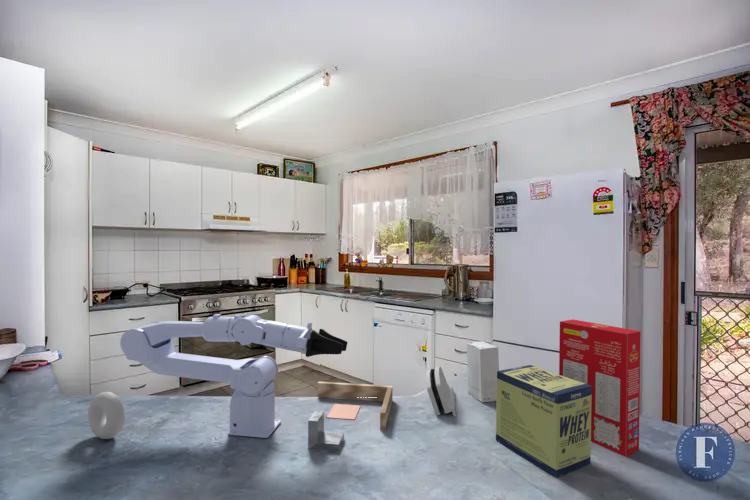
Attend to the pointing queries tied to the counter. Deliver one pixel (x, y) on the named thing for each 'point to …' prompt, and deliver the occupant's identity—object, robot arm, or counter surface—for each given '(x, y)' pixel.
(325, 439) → the bracket
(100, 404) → the donut
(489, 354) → the skincare box
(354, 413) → the flat panel
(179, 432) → the counter surface
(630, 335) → the food packaging
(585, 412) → the protein box
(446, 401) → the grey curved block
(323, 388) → the wooden corner frame
